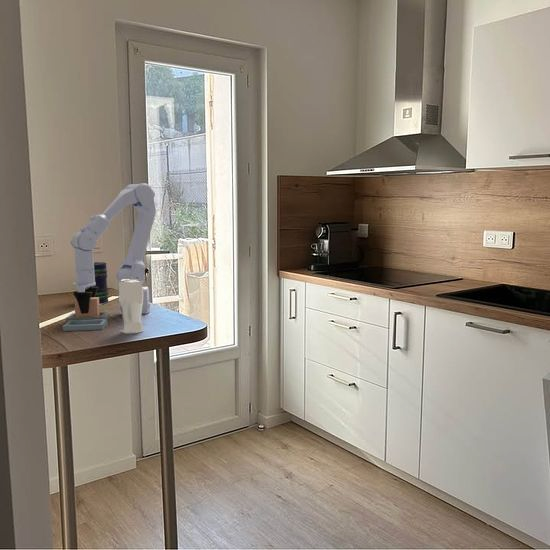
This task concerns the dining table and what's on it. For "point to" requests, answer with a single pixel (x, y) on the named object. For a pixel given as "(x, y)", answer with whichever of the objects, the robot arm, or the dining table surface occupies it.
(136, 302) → the beer glass
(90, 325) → the grey picture frame
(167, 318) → the dining table surface
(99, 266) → the storage jar
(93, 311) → the terracotta block
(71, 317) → the grey rectangular open frame
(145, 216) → the robot arm
